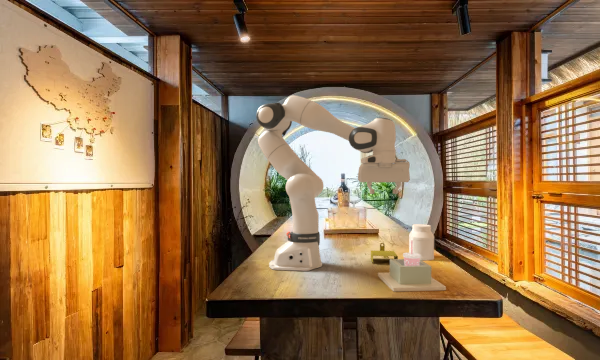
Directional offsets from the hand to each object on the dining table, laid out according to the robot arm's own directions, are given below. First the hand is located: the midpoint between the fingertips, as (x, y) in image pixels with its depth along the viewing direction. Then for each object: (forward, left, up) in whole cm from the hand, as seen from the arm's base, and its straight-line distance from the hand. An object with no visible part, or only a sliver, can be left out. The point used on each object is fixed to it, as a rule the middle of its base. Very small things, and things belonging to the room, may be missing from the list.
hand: (383, 193), depth 144 cm
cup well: (+5, -15, -31) cm, 35 cm away
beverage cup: (+6, -15, -30) cm, 34 cm away
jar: (+25, +22, -31) cm, 46 cm away
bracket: (+5, +14, -32) cm, 35 cm away
